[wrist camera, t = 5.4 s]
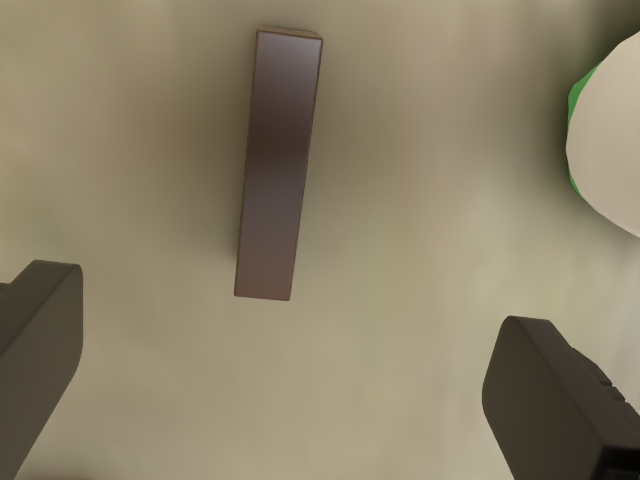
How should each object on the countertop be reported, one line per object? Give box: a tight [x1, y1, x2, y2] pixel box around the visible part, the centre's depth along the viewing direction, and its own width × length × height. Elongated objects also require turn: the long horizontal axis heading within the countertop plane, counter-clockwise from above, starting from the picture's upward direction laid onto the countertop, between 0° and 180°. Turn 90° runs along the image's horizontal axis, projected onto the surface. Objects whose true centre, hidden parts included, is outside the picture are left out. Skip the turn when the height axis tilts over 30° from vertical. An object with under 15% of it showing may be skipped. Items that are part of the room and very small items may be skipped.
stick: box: [234, 25, 323, 301], centre depth 20 cm, size 9×2×3 cm, turn 172°
